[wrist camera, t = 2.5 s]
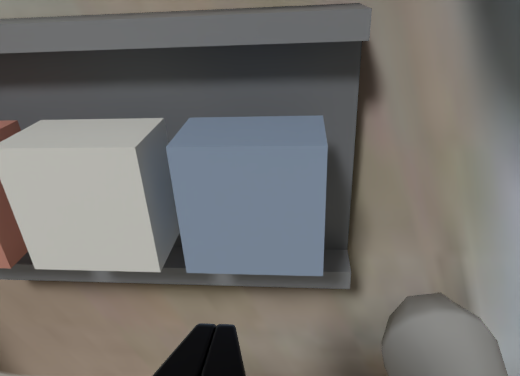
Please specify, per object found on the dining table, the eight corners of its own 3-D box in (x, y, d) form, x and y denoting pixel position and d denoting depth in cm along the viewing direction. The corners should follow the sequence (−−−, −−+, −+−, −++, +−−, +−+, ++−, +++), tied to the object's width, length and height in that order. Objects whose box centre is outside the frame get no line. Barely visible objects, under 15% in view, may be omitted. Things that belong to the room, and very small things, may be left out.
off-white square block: (74, 226, 18) (35, 269, 15) (41, 119, 16) (-13, 148, 13) (182, 227, 17) (160, 272, 15) (163, 118, 15) (134, 147, 12)
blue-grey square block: (204, 228, 17) (186, 272, 15) (189, 117, 15) (165, 147, 12) (319, 229, 17) (323, 276, 14) (323, 115, 15) (327, 145, 12)
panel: (-1, 242, 23) (-42, 278, 21) (-94, 23, 18) (-168, 31, 15) (343, 248, 21) (349, 289, 19) (358, 3, 16) (371, 8, 13)
